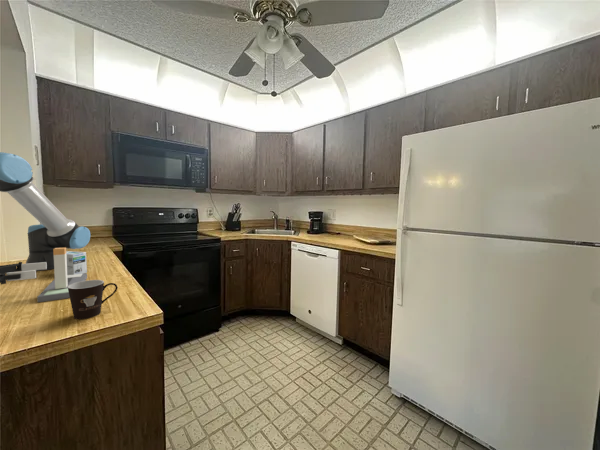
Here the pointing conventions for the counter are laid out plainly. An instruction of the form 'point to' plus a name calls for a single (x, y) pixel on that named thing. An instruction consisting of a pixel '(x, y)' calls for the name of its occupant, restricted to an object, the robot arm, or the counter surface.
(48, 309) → the counter surface
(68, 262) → the light bulb box
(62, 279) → the breaker lever
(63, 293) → the plate
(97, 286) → the coffee mug
